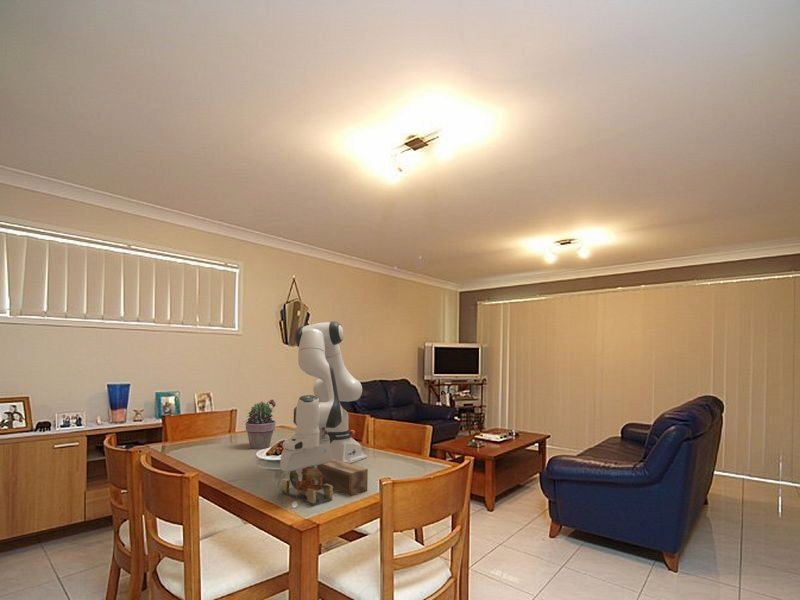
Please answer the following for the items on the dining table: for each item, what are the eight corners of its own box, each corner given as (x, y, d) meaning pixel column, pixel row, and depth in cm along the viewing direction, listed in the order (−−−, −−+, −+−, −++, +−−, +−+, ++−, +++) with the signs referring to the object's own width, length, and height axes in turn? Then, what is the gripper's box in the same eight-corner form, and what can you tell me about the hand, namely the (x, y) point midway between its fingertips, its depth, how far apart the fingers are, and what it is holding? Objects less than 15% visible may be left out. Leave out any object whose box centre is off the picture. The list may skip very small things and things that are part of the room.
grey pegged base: (300, 487, 173) (300, 474, 174) (332, 500, 160) (332, 485, 160) (281, 492, 167) (281, 479, 168) (312, 506, 153) (313, 491, 154)
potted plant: (232, 447, 240) (234, 400, 243) (264, 442, 255) (266, 397, 258) (251, 453, 229) (252, 403, 231) (283, 446, 243) (284, 399, 246)
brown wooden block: (331, 478, 185) (331, 458, 186) (367, 490, 170) (367, 468, 171) (314, 483, 179) (315, 462, 180) (350, 495, 164) (350, 473, 165)
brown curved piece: (289, 487, 167) (288, 464, 167) (296, 484, 170) (294, 462, 170) (318, 495, 158) (317, 471, 159) (325, 492, 161) (323, 468, 161)
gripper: (325, 435, 175) (324, 472, 174) (278, 443, 160) (277, 483, 159) (335, 437, 171) (334, 475, 169) (288, 446, 156) (287, 487, 155)
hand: (306, 479), depth 164 cm, fingers closed on brown curved piece, 3 cm apart
